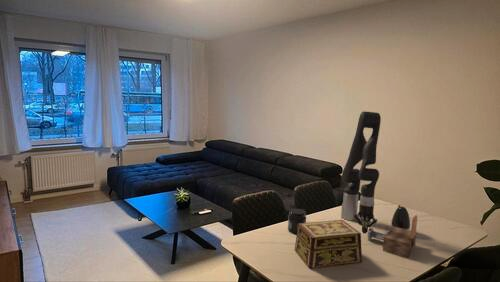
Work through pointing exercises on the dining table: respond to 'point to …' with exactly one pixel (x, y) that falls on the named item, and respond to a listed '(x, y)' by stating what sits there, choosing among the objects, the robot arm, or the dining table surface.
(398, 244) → the walnut block
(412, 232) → the keeper flap
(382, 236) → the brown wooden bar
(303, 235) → the decorative box
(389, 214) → the dining table surface
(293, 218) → the supplement container
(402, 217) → the dark egg shape
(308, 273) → the dining table surface
